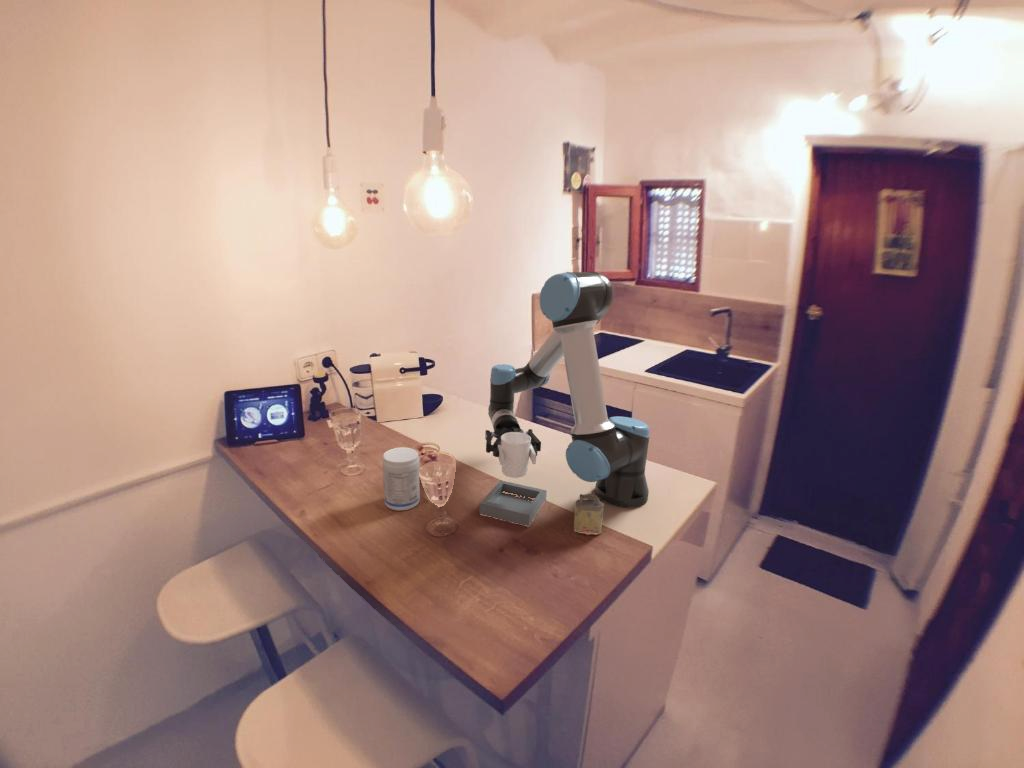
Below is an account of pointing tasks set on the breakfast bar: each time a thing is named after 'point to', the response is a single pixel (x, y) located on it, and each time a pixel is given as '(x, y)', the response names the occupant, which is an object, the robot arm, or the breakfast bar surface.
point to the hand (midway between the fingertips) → (518, 459)
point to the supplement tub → (401, 478)
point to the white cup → (515, 454)
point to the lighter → (588, 514)
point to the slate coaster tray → (513, 502)
